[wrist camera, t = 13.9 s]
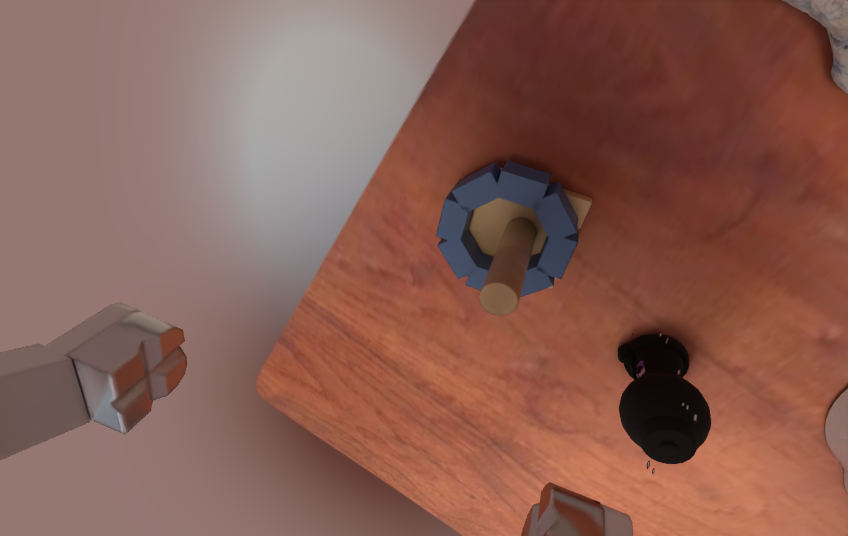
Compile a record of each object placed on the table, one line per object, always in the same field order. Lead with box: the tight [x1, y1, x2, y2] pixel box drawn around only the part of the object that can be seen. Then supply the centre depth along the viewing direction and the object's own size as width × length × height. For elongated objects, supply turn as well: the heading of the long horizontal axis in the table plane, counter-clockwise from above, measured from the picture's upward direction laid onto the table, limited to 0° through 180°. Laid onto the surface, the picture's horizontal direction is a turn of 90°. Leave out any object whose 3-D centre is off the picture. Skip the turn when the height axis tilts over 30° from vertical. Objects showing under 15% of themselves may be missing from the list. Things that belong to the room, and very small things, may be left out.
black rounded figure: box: [618, 330, 711, 474], centre depth 35 cm, size 7×6×10 cm
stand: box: [468, 168, 592, 316], centre depth 33 cm, size 8×8×11 cm
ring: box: [436, 160, 579, 297], centre depth 36 cm, size 10×10×2 cm
